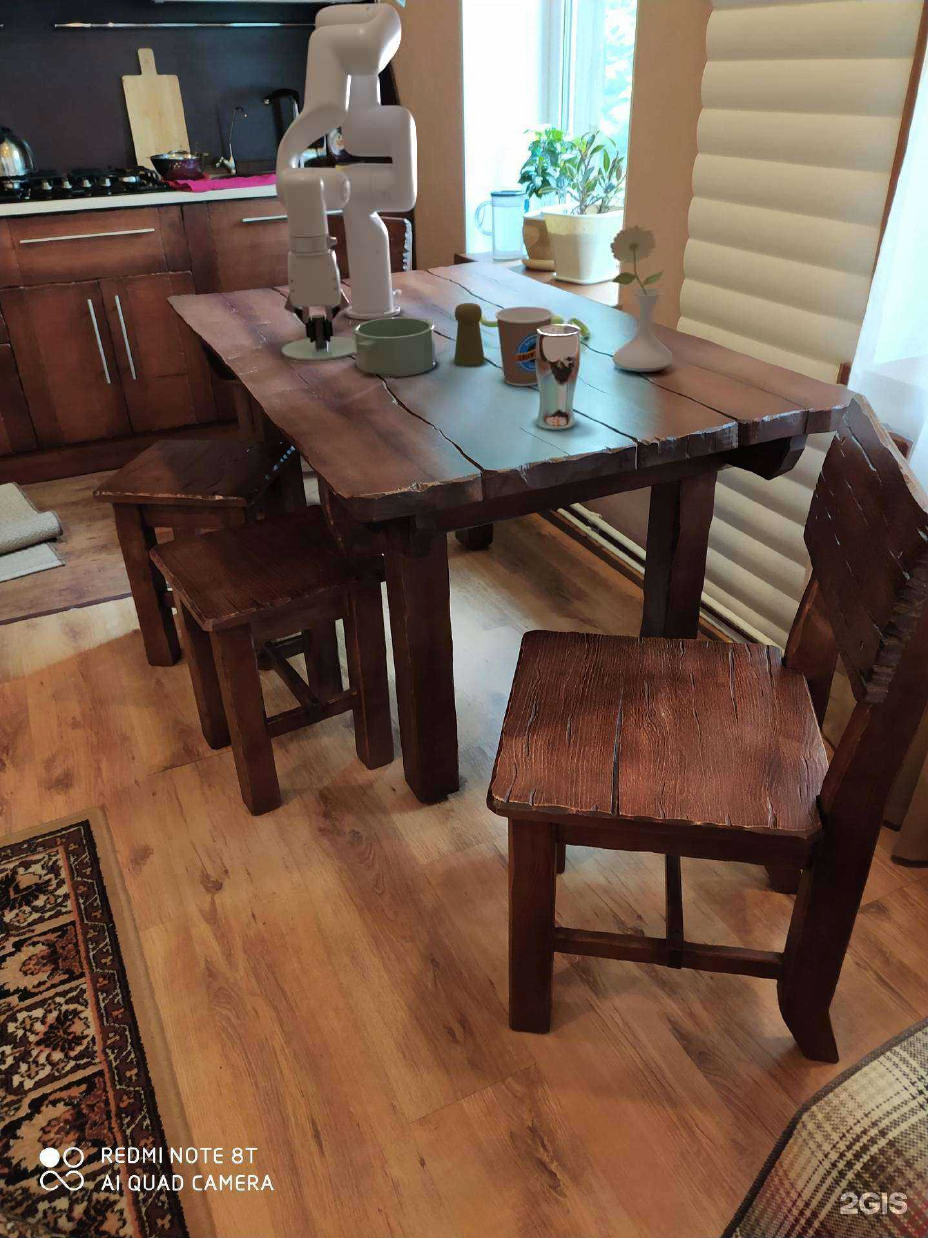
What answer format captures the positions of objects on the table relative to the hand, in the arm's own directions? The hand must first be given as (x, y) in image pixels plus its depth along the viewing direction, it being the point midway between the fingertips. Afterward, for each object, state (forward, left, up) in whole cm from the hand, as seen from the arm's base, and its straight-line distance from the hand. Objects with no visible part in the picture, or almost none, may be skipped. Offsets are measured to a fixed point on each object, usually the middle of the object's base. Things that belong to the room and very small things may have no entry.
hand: (320, 339), depth 184 cm
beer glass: (+17, +61, -3) cm, 63 cm away
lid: (0, 0, -2) cm, 2 cm away
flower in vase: (-17, +62, -3) cm, 64 cm away
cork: (-7, +31, -3) cm, 32 cm away
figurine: (-24, +34, -3) cm, 42 cm away
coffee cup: (-1, +46, -3) cm, 46 cm away
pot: (+1, +19, -3) cm, 19 cm away
